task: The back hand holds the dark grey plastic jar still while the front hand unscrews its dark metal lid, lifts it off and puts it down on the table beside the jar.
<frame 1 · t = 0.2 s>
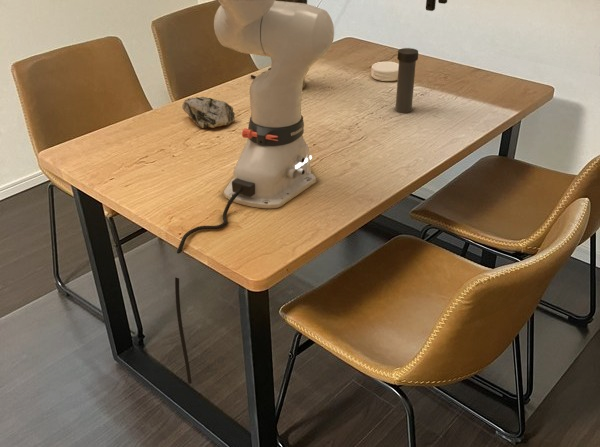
back hand: (436, 6, 158), 29 cm above the table, tool pointing down, fingers open, 8 cm apart
lid: (408, 52, 167), point 17 cm above the table, screwed on, not yet turned
jar: (403, 110, 176), on the table
rock: (208, 120, 172), on the table
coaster: (386, 77, 200), on the table
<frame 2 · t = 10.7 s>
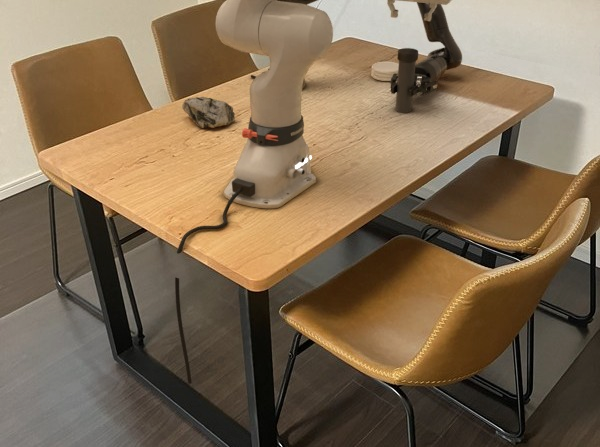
front hand: (410, 18, 163), 25 cm above the table, tool pointing down, fingers open, 8 cm apart
back hand: (401, 92, 171), 6 cm above the table, tool horizontal, fingers closed on jar, 4 cm apart
jar: (403, 110, 176), on the table, touching back hand
everything else where it was.
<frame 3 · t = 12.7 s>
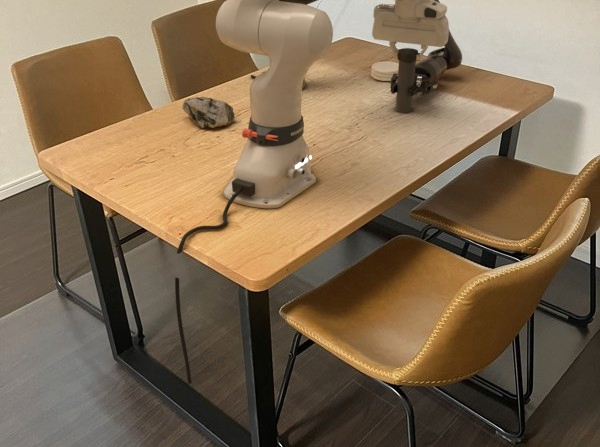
front hand: (407, 59, 168), 15 cm above the table, tool pointing down, fingers closed on lid, 5 cm apart
back hand: (401, 92, 171), 6 cm above the table, tool horizontal, fingers closed on jar, 4 cm apart
lid: (408, 52, 167), point 17 cm above the table, screwed on, not yet turned, touching front hand
jar: (403, 109, 176), on the table, touching back hand
everything else where it was.
when the front hand's fingers open (15 cm above the table, at t = 13.8 s): lid stays where it is, point 17 cm above the table.
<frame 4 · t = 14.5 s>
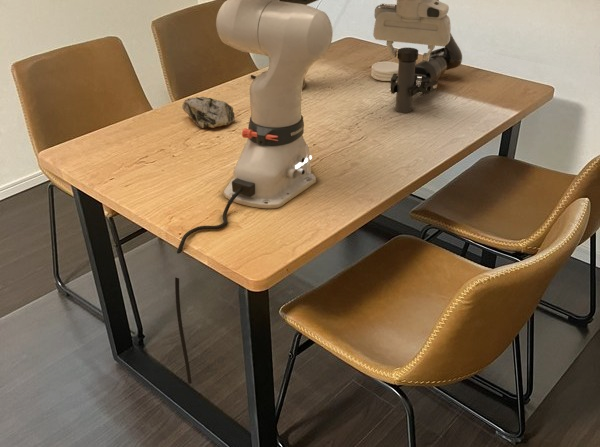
front hand: (409, 58, 168), 15 cm above the table, tool pointing down, fingers open, 8 cm apart
back hand: (401, 92, 171), 6 cm above the table, tool horizontal, fingers closed on jar, 4 cm apart
lid: (408, 51, 167), point 17 cm above the table, turned 58° so far, risen 0.2 cm, still on its thread
jar: (403, 109, 176), on the table, touching back hand
everything else where it was.
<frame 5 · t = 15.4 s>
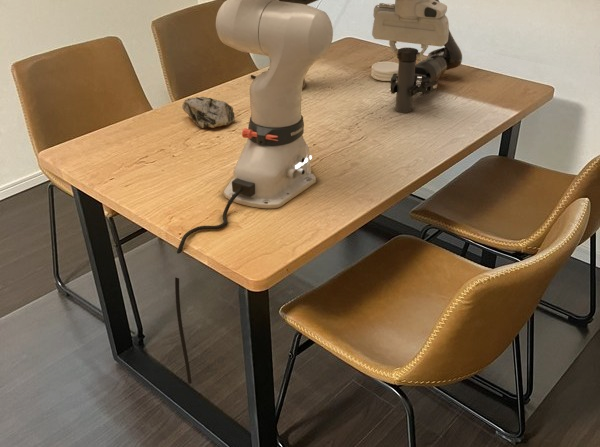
front hand: (407, 58, 168), 15 cm above the table, tool pointing down, fingers closed on lid, 5 cm apart
back hand: (401, 92, 171), 6 cm above the table, tool horizontal, fingers closed on jar, 4 cm apart
lid: (408, 51, 167), point 17 cm above the table, turned 58° so far, risen 0.2 cm, still on its thread, touching front hand
jar: (403, 109, 176), on the table, touching back hand
everything else where it was.
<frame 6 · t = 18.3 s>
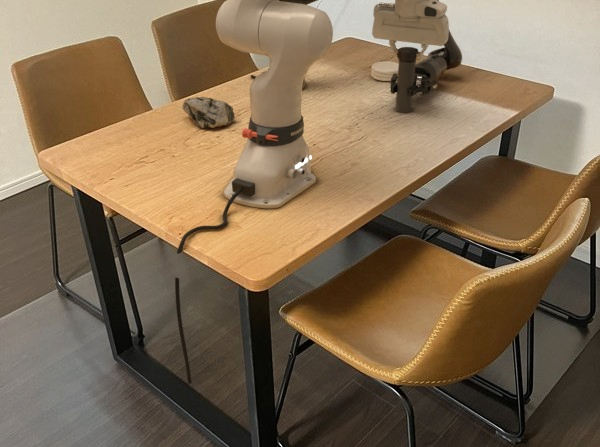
front hand: (407, 57, 168), 15 cm above the table, tool pointing down, fingers closed on lid, 5 cm apart
back hand: (401, 92, 171), 6 cm above the table, tool horizontal, fingers closed on jar, 4 cm apart
lid: (408, 51, 167), point 17 cm above the table, turned 117° so far, risen 0.3 cm, still on its thread, touching front hand
jar: (403, 109, 176), on the table, touching back hand
everything else where it was.
when the front hand's fingers open (2 cm above the table, at t = 24.5 s): lid drops 2 cm, point 2 cm above the table.
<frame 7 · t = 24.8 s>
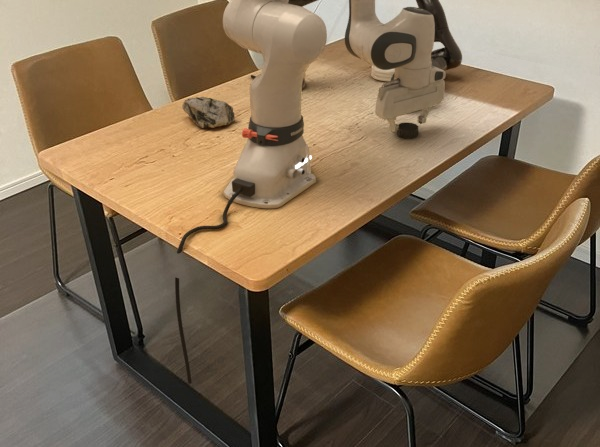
front hand: (407, 126, 161), 2 cm above the table, tool pointing down, fingers open, 8 cm apart
back hand: (401, 92, 171), 6 cm above the table, tool horizontal, fingers closed on jar, 4 cm apart
lid: (407, 127, 161), point 2 cm above the table, off its thread
jar: (403, 109, 176), on the table, touching back hand
everything else where it was.
when the back hand's fingers open (6 cm above the table, at t = 25.5 s): jar stays where it is, on the table.
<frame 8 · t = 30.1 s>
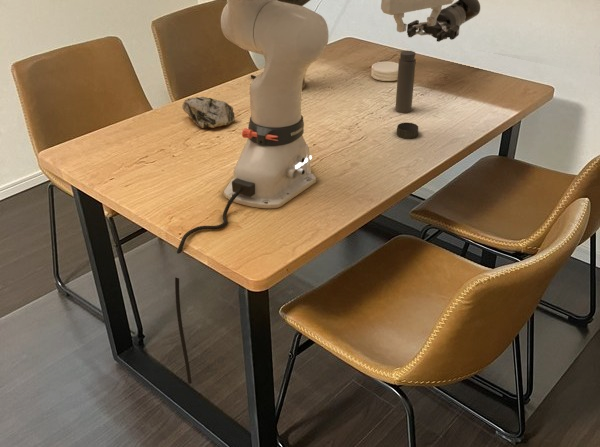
front hand: (416, 28, 148), 27 cm above the table, tool pointing down, fingers open, 8 cm apart
back hand: (423, 35, 174), 18 cm above the table, tool horizontal, fingers open, 8 cm apart
jar: (403, 109, 176), on the table
everything else where it was.
at the end: lid came off its thread; lid point 1.8 cm above the table; the front hand is holding nothing; the back hand is holding nothing; jar tilted 0°; jar moved 0.1 cm from its start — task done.
